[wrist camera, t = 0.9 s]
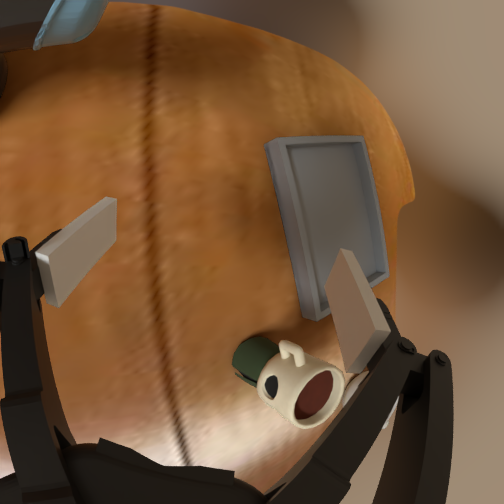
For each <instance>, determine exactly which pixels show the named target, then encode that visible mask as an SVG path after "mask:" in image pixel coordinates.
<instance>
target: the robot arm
mask: <svg viewBox="0 0 504 504" xmlns="http://www.w3.org/2000/svg"><path fill="white" fill-rule="evenodd" d="M108 2H109V0H0V97H1V95H2V93H3V90H4V87H5V84H6V79H7V63H6V59H5V56H4V54H3V53H6V52H11V51H17V50H23V49H30V48H33V50H34V51H36V50H39V49H41V48H42V47H46V46H53V45H62V44H71V43H75V42H79V41H81V40H83V39H84V38H86V37H87V36H89V35H90V34H91V33H92V32H93V31H94V29H95V28H96V26H97V25H98V23H99V21H100V19H101V17H102V15H103V13H104V10H105V8H106V6H107V4H108ZM116 212H117V199H115V198H110V197H105V198H104V199H102V200H101V201H99V202H98V203H96V204H95V205H94V206H92V207H91V208H90V209H88V210H87V211H85V212H84V213H83V214H81V215H80V216H79V217H78V218H76V219H75V220H74V221H72V222H71V223H70V224H68V225H67V226H66V227H65V228H63V229H59V230H57V231H55V232H52V233H51V234H50V235H49V236H47V237H46V238H45V239H44V240H43V241H42V242H40V243H39V244H38V245H37V246H35V247H34V248H33V249H32V250H31V251H30V252H29V248H28V242H27V239H26V238H24V237H21V236H18V237H13V238H10V239H8V240H6V241H5V242H4V243H3V245H2V250H3V254H4V258H5V262H2V261H0V332H1V352H2V368H3V379H4V388H5V398H3V399H1V401H0V408H1V415H2V420H3V426H4V431H5V435H6V440H7V444H8V448H9V452H10V456H11V460H12V463H13V466H14V470H15V473H12V474H10V475H8V476H5V477H3V478H1V479H0V504H339V503H340V502H341V500H342V499H343V498H344V496H345V495H346V494H347V492H348V490H349V489H350V486H351V484H350V482H349V481H350V479H351V477H352V475H353V474H354V473H355V471H356V470H357V468H358V467H359V465H360V464H361V462H362V461H363V459H364V458H365V456H366V454H367V453H368V451H369V450H370V448H371V446H372V445H373V443H374V441H375V440H376V438H377V436H378V434H379V433H380V431H381V429H382V427H383V426H384V424H385V422H386V420H387V418H388V416H389V414H390V412H391V410H392V408H393V406H394V404H395V402H396V400H397V398H398V396H399V398H398V404H397V410H396V416H395V421H394V426H393V431H392V435H391V440H390V444H389V448H388V453H387V457H386V460H385V464H384V468H383V471H382V475H381V478H380V481H379V485H378V488H377V491H376V494H375V497H374V500H373V503H372V504H445V503H446V497H447V491H448V485H449V477H450V469H451V459H452V445H453V383H452V368H451V362H450V360H449V358H448V356H447V355H446V354H445V353H443V352H441V351H439V350H433V351H432V352H431V353H430V354H429V355H428V356H425V355H422V354H419V353H417V350H416V347H415V346H414V345H413V343H412V342H411V341H409V340H408V339H406V338H404V337H401V336H400V333H399V331H398V329H397V327H396V325H395V322H394V320H392V319H393V318H392V316H391V314H390V312H389V310H388V308H387V306H386V305H385V304H384V303H383V302H382V300H381V299H377V298H375V295H374V293H373V291H372V289H371V287H370V285H369V283H368V281H367V279H366V277H365V275H364V273H363V271H362V269H361V267H360V265H359V263H358V261H357V259H356V257H355V256H354V254H353V252H352V251H350V250H346V249H342V248H340V251H339V253H338V255H337V258H336V260H335V263H334V265H333V267H332V270H331V272H330V274H329V277H328V279H327V281H326V284H325V286H324V288H325V291H326V295H327V299H328V302H329V306H330V310H331V313H332V317H333V321H334V325H335V329H336V333H337V337H338V341H339V345H340V349H341V353H342V357H343V361H344V366H345V370H346V373H359V374H361V372H362V371H363V370H364V368H365V367H366V366H367V367H368V370H369V373H368V374H367V375H366V376H365V378H364V379H363V380H362V381H361V382H360V384H359V385H358V388H357V389H356V391H355V392H354V394H353V395H352V396H351V398H350V399H349V400H348V402H347V403H346V404H345V406H344V407H343V408H342V410H341V411H340V412H339V414H338V415H337V416H336V418H335V419H334V420H333V421H332V423H331V424H330V425H329V426H328V428H327V429H326V430H325V431H324V432H323V434H322V435H321V436H320V437H319V438H318V440H317V441H316V442H315V443H314V444H313V445H312V446H311V448H310V449H309V450H308V451H307V452H306V453H305V454H304V455H303V456H302V458H301V459H300V460H299V461H298V462H297V463H296V464H295V465H294V466H293V467H292V468H291V469H290V470H289V471H288V472H287V473H286V474H285V475H284V476H283V477H282V478H281V479H280V480H279V481H278V482H277V483H276V484H274V485H273V486H272V487H271V488H270V489H269V490H267V491H266V492H265V493H264V494H262V493H261V492H260V491H259V490H257V489H256V488H255V487H253V486H251V485H250V484H248V483H246V482H244V481H242V480H240V479H237V478H234V472H235V471H230V470H222V469H216V468H209V467H204V466H163V465H160V464H158V463H156V462H154V461H152V460H151V459H149V458H147V457H145V456H143V455H141V454H140V453H138V452H136V451H134V450H133V449H131V448H128V447H125V446H122V445H119V444H116V443H113V442H111V441H108V440H105V439H103V438H100V439H99V442H98V444H95V443H84V444H76V441H75V439H74V437H73V436H72V434H71V432H70V429H69V427H68V424H67V421H66V418H65V415H64V412H63V409H62V406H61V402H60V399H59V395H58V391H57V388H56V384H55V380H54V376H53V371H52V367H51V362H50V357H49V352H48V347H47V341H46V335H45V328H44V321H43V313H42V304H41V301H40V298H41V296H42V295H43V294H45V298H46V302H47V303H48V304H50V305H53V306H55V307H58V308H59V307H60V306H61V305H62V303H63V302H64V301H65V300H66V298H67V297H68V296H69V295H70V293H71V292H72V291H73V290H74V288H75V287H76V286H77V285H78V284H79V282H80V281H81V280H82V279H83V278H84V276H85V275H86V274H87V273H88V272H89V271H90V269H91V268H92V267H93V266H94V265H95V264H96V262H97V261H98V260H99V259H100V258H101V257H102V256H103V255H104V253H105V252H106V251H107V250H108V249H109V248H110V247H111V246H112V245H113V244H114V243H115V241H116Z"/></svg>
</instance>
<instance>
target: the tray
mask: <svg viewBox="0 0 504 504" xmlns="http://www.w3.org/2000/svg"><path fill="white" fill-rule="evenodd" d="M264 147H265V151H266V155H267V159H268V163H269V167H270V171H271V176H272V180H273V184H274V188H275V192H276V196H277V201H278V205H279V209H280V213H281V218H282V222H283V227H284V231H285V236H286V240H287V245H288V249H289V254H290V258H291V263H292V268H293V273H294V277H295V282H296V287H297V292H298V297H299V302H300V307H301V312H302V317H303V318H307V319H310V320H313V321H316V322H317V321H319V320H321V319H322V318H324V317H326V316H327V315H329V314H331V310H330V306H329V302H328V299H327V295H326V291H325V288H324V286H325V284H326V281H327V279H328V277H329V274H330V272H331V270H332V267H333V265H334V263H335V260H336V258H337V255H338V253H339V251H340V248H342V249H346V250H350V251H352V252H353V254H354V256H355V257H356V259H357V261H358V263H359V265H360V267H361V269H362V271H363V273H364V275H365V277H366V279H367V281H368V283H369V285H370V287H371V288H372V287H374V286H376V285H377V284H379V283H380V282H382V281H383V280H385V279H386V278H388V277H389V267H388V259H387V251H386V243H385V236H384V230H383V224H382V218H381V212H380V207H379V201H378V196H377V191H376V186H375V182H374V177H373V173H372V168H371V164H370V160H369V156H368V152H367V148H366V144H365V141H364V137H363V136H298V137H279V138H275V139H273V140H271V141H269V142H267V143H266V144H264Z"/></svg>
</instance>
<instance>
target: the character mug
mask: <svg viewBox="0 0 504 504" xmlns="http://www.w3.org/2000/svg"><path fill="white" fill-rule="evenodd" d="M232 366H233V367H234V368H236V369H237V370H239V372H240V373H241V374H242V375H243V377H242V376H240V375H239V374H237V373H235V374H236V375H237V376H238V377H239V378H241V379H242V380H244V381H245V382H247V383H249V384H250V385H252V386H254V387H256V388H257V393H258V395H259V396H260V398H261V399H262V400H263V402H264V403H265V404H266V405H268V406H269V407H271V408H273V409H275V410H276V411H277V412H278V413H279V414H280V415H281V416H282V417H283V418H284V419H286V420H288V421H289V422H290V423H292V424H293V425H295V426H296V427H299V428H303V429H307V428H313V427H315V426H317V425H319V424H321V423H323V422H324V421H325V420H326V419H327V418H329V417H330V416H331V415H332V414H333V412H334V411H335V409H336V408H337V406H338V405H339V403H340V401H341V399H342V396H343V393H344V389H345V378H344V375H343V372H342V371H341V370H340V369H338V368H337V367H336V366H334V365H332V364H330V363H328V362H325V361H323V360H321V359H319V358H316V357H314V356H312V355H310V354H307V353H305V352H304V351H303V349H302V348H301V347H300V346H299V345H297V344H294V343H292V342H290V341H288V340H280V342H279V346H277V345H276V344H275V343H273V342H272V341H271V340H269V339H268V338H264V337H260V336H259V337H255V338H250V339H248V340H247V341H245V342H243V343H242V344H240V345H239V347H238V348H237V350H236V351H235V353H234V356H233V361H232Z"/></svg>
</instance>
